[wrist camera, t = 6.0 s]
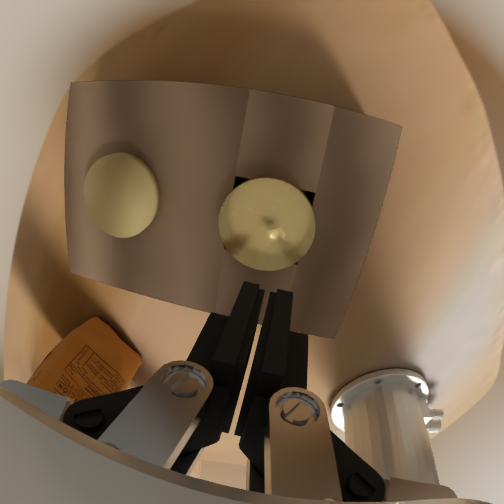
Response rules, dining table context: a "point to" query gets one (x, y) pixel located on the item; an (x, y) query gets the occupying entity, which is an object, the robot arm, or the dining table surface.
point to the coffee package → (87, 363)
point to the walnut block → (218, 191)
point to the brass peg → (267, 223)
